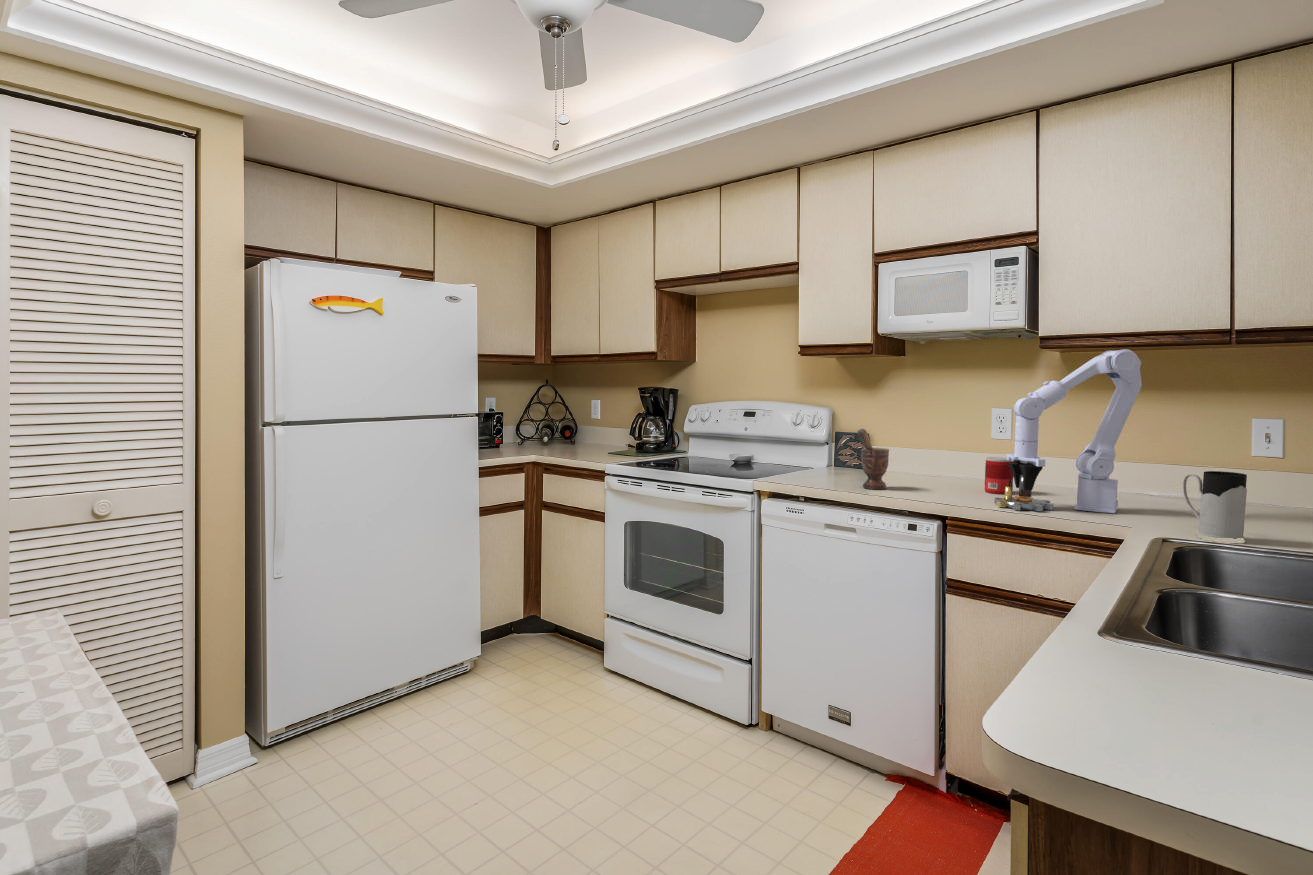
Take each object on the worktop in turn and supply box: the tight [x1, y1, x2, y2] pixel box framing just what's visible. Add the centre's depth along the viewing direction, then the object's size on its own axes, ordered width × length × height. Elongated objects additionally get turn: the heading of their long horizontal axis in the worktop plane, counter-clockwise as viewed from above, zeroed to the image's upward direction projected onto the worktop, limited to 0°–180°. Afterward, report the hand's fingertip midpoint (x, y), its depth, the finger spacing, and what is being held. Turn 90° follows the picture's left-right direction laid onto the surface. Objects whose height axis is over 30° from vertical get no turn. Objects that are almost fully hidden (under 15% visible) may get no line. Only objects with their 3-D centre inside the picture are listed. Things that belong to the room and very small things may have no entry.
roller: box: [1018, 474, 1033, 497], centre depth 192 cm, size 3×3×6 cm
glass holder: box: [1182, 470, 1248, 539], centre depth 157 cm, size 9×14×15 cm, turn 9°
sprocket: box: [993, 486, 1054, 512], centre depth 193 cm, size 15×15×6 cm
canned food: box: [984, 456, 1014, 496], centre depth 217 cm, size 8×8×11 cm
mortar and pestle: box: [857, 428, 890, 491], centre depth 224 cm, size 12×9×20 cm
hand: (1024, 488), depth 192 cm, fingers closed on roller, 3 cm apart
